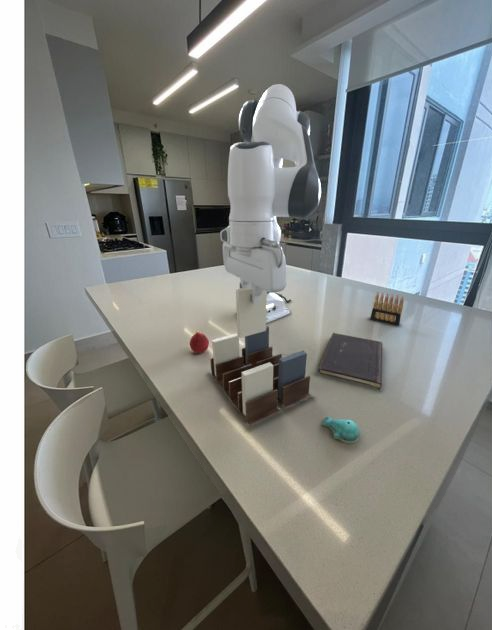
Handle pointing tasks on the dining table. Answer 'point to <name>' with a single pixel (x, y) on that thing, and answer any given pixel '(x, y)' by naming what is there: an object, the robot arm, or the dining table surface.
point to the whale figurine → (343, 429)
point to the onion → (199, 342)
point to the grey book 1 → (256, 342)
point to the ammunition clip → (387, 310)
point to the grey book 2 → (291, 369)
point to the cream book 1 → (225, 349)
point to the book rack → (267, 403)
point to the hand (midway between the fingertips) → (251, 300)
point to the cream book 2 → (250, 313)
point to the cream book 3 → (256, 382)
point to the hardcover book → (354, 359)
